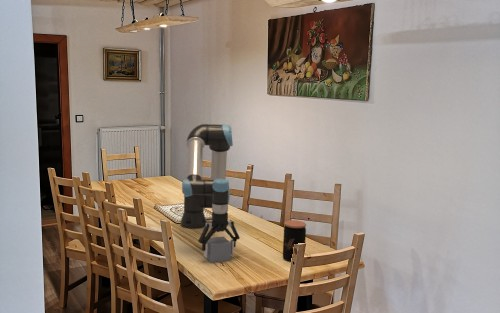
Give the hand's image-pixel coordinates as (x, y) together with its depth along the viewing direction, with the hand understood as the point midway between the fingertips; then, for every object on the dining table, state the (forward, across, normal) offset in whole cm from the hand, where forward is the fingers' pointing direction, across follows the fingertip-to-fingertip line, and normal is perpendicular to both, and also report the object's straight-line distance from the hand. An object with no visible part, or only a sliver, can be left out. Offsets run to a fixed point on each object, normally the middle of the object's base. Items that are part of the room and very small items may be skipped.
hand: (218, 255), depth 228 cm
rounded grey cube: (+2, 0, +2) cm, 3 cm away
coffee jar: (+2, +35, -11) cm, 37 cm away
